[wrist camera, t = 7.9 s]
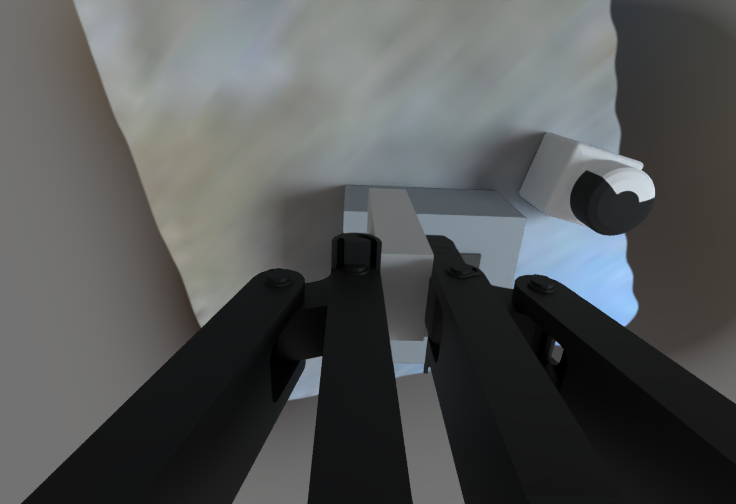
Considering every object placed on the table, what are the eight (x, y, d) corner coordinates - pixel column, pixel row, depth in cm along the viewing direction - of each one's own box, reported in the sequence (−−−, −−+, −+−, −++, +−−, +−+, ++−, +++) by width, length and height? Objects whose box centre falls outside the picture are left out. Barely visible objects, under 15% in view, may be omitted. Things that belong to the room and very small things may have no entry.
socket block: (345, 184, 50) (343, 212, 40) (495, 190, 51) (528, 219, 41) (341, 314, 57) (339, 364, 47) (473, 318, 58) (496, 367, 48)
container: (573, 210, 52) (638, 253, 40) (516, 194, 51) (566, 232, 39) (604, 150, 49) (684, 176, 37) (545, 130, 48) (607, 151, 36)
